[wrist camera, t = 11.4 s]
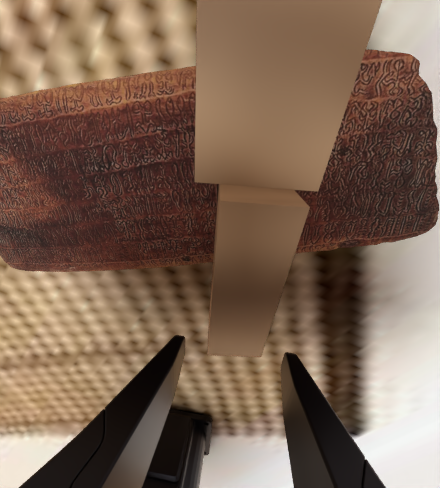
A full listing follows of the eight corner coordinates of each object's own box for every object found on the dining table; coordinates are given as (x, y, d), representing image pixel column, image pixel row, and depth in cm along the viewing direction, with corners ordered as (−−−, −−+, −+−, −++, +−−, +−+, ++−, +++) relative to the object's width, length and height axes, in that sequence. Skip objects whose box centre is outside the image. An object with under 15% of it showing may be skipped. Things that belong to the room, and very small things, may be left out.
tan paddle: (268, 314, 15) (278, 357, 12) (194, 310, 14) (189, 354, 12) (403, -135, 5) (567, -350, 3) (203, -164, 5) (189, -428, 3)
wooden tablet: (541, -13, 7) (459, 279, 10) (471, 31, 9) (422, 260, 12) (-99, 109, 11) (-16, 284, 14) (-43, 120, 13) (19, 269, 16)
